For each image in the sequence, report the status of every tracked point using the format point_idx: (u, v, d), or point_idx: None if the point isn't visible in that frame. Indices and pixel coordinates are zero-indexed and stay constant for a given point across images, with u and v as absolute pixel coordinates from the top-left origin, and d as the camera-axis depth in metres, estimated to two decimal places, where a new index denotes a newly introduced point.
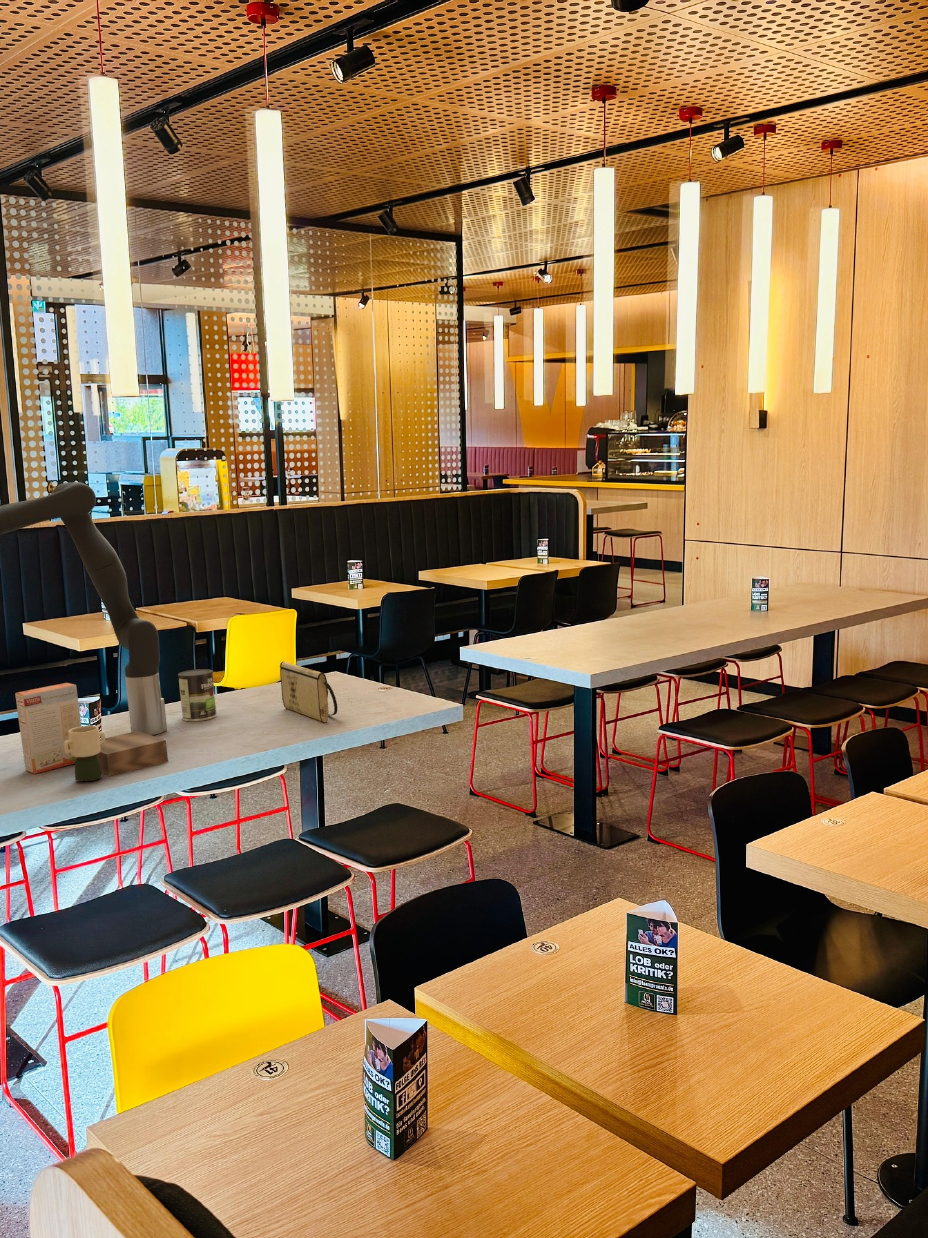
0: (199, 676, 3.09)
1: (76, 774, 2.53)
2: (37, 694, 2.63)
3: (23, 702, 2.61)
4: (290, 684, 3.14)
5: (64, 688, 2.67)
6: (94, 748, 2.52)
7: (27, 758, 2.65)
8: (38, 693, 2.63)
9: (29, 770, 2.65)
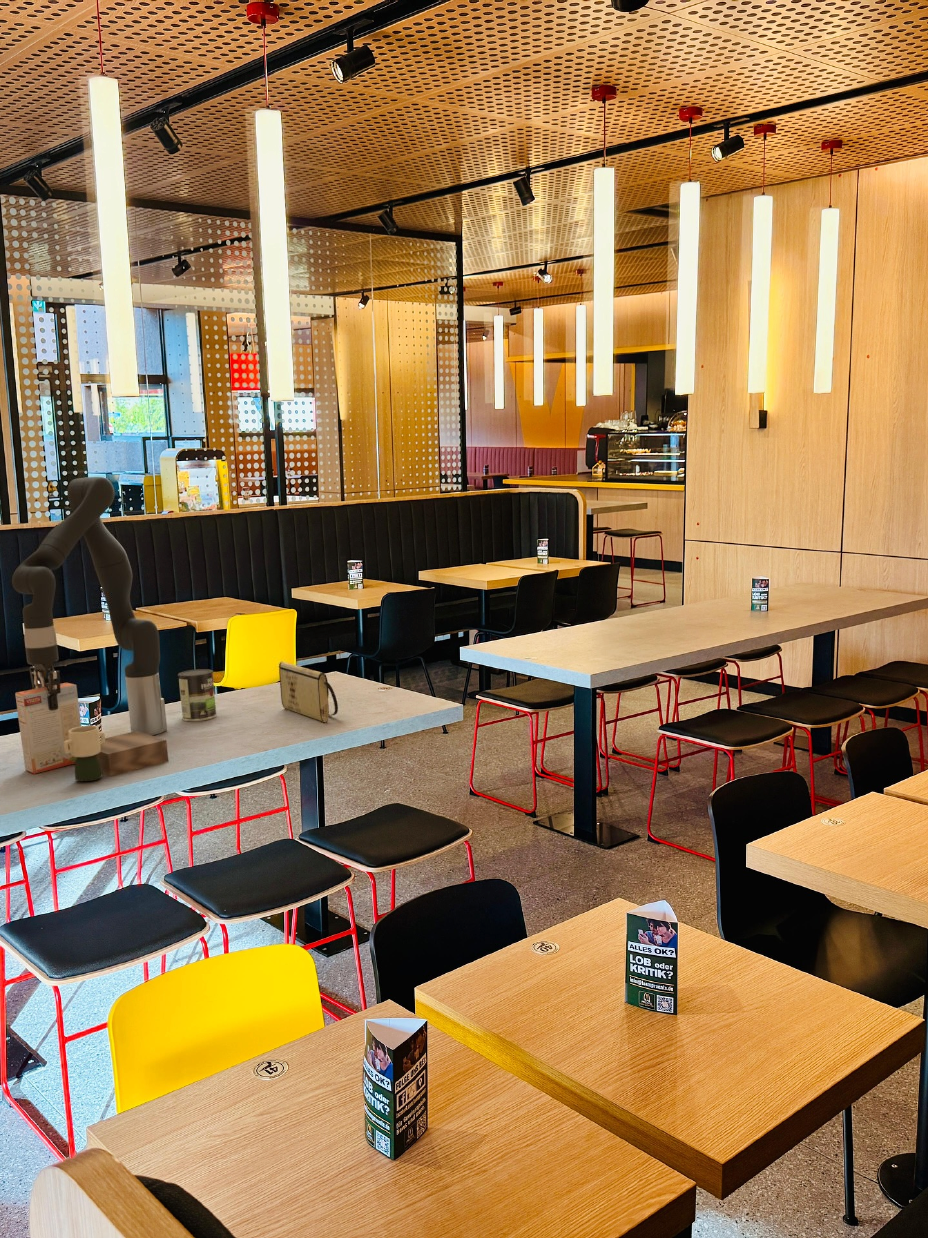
0: (199, 676, 3.09)
1: (76, 774, 2.53)
2: (37, 694, 2.63)
3: (23, 702, 2.61)
4: (290, 684, 3.14)
5: (64, 688, 2.67)
6: (94, 748, 2.52)
7: (26, 758, 2.65)
8: (38, 693, 2.63)
9: (29, 770, 2.65)
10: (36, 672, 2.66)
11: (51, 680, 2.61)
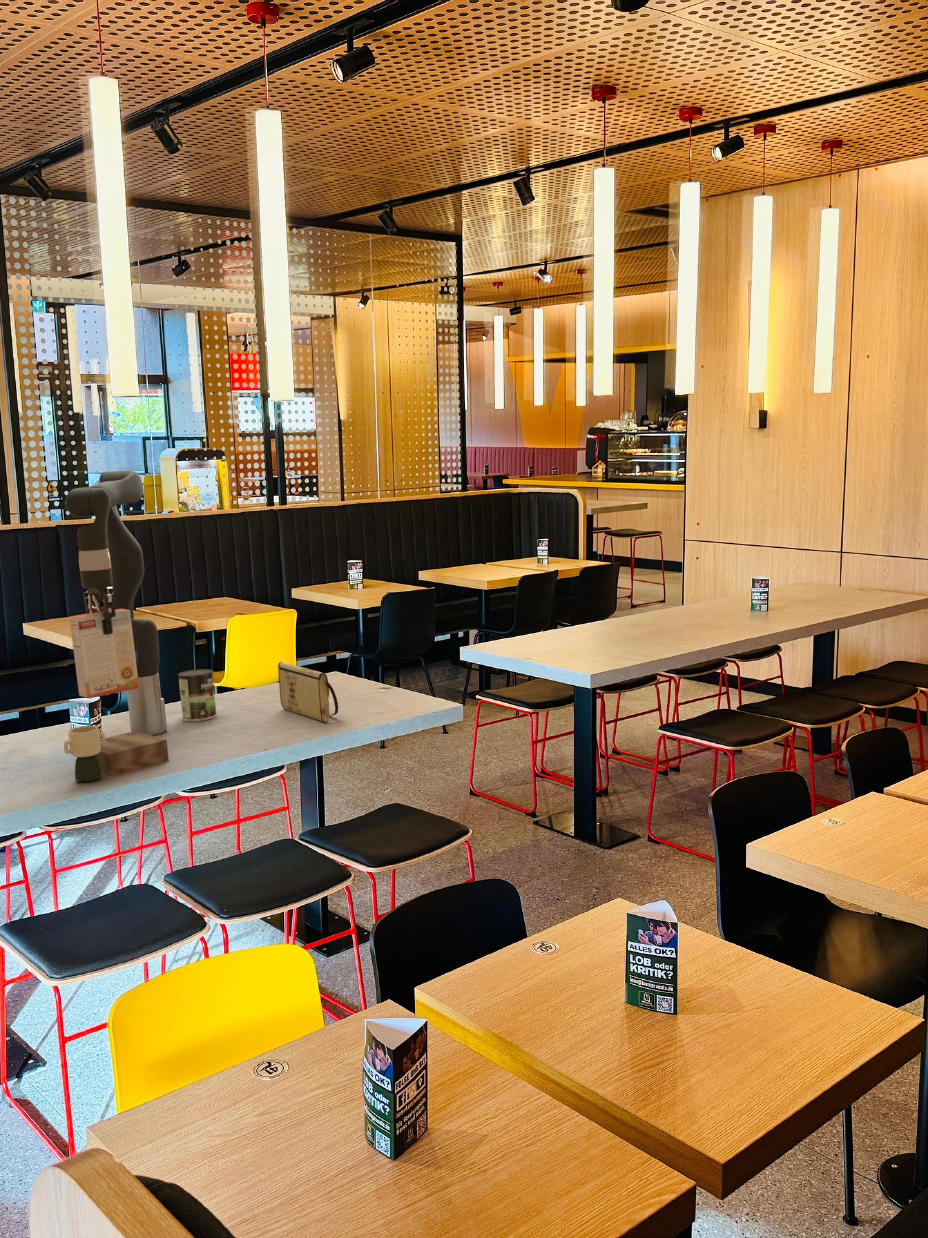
0: (199, 676, 3.09)
1: (76, 774, 2.53)
2: (91, 617, 2.59)
3: (77, 625, 2.58)
4: (289, 685, 3.14)
5: (118, 613, 2.64)
6: (94, 748, 2.52)
7: (81, 683, 2.61)
8: (92, 616, 2.59)
9: (83, 695, 2.62)
10: (90, 596, 2.62)
11: (106, 603, 2.58)
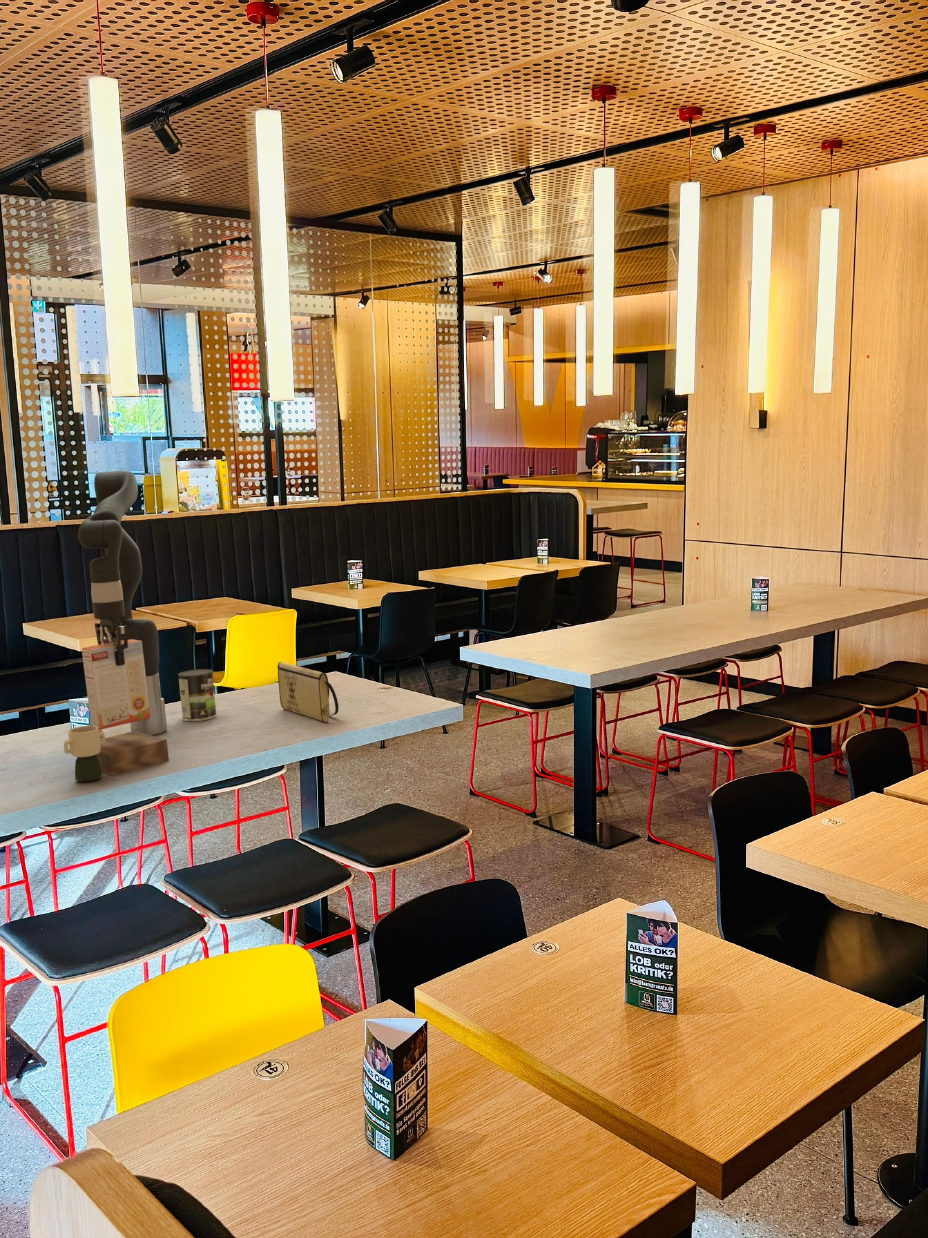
0: (199, 676, 3.09)
1: (76, 774, 2.53)
2: (104, 649, 2.60)
3: (90, 657, 2.59)
4: (289, 685, 3.14)
5: (130, 644, 2.65)
6: (94, 748, 2.52)
7: (93, 714, 2.63)
8: (105, 648, 2.61)
9: None
10: (102, 627, 2.63)
11: (119, 635, 2.59)
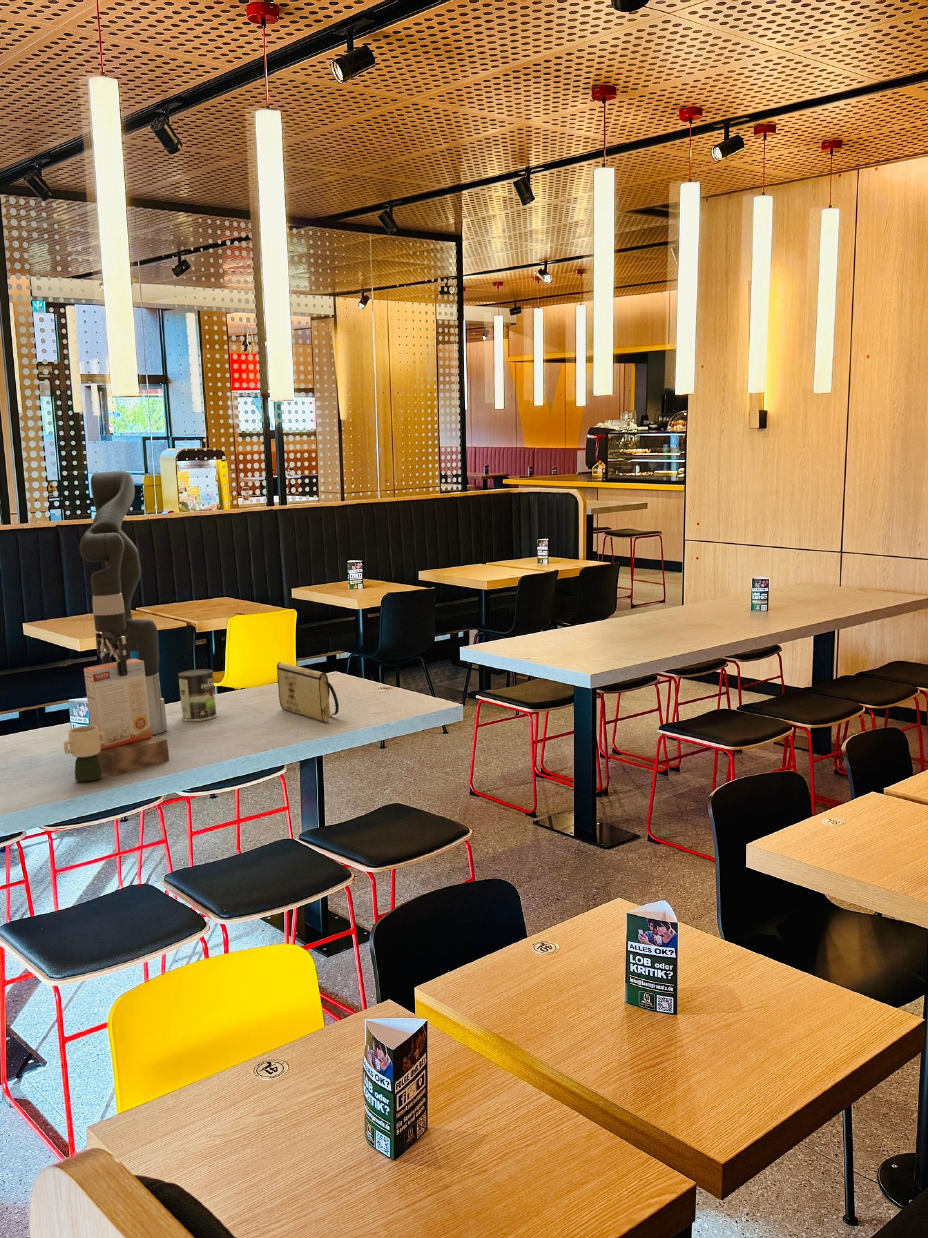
0: (199, 676, 3.09)
1: (76, 774, 2.53)
2: (106, 669, 2.61)
3: (92, 678, 2.59)
4: (288, 685, 3.14)
5: (132, 664, 2.66)
6: (94, 748, 2.52)
7: None
8: (107, 668, 2.61)
9: None
10: (104, 640, 2.64)
11: (120, 644, 2.59)
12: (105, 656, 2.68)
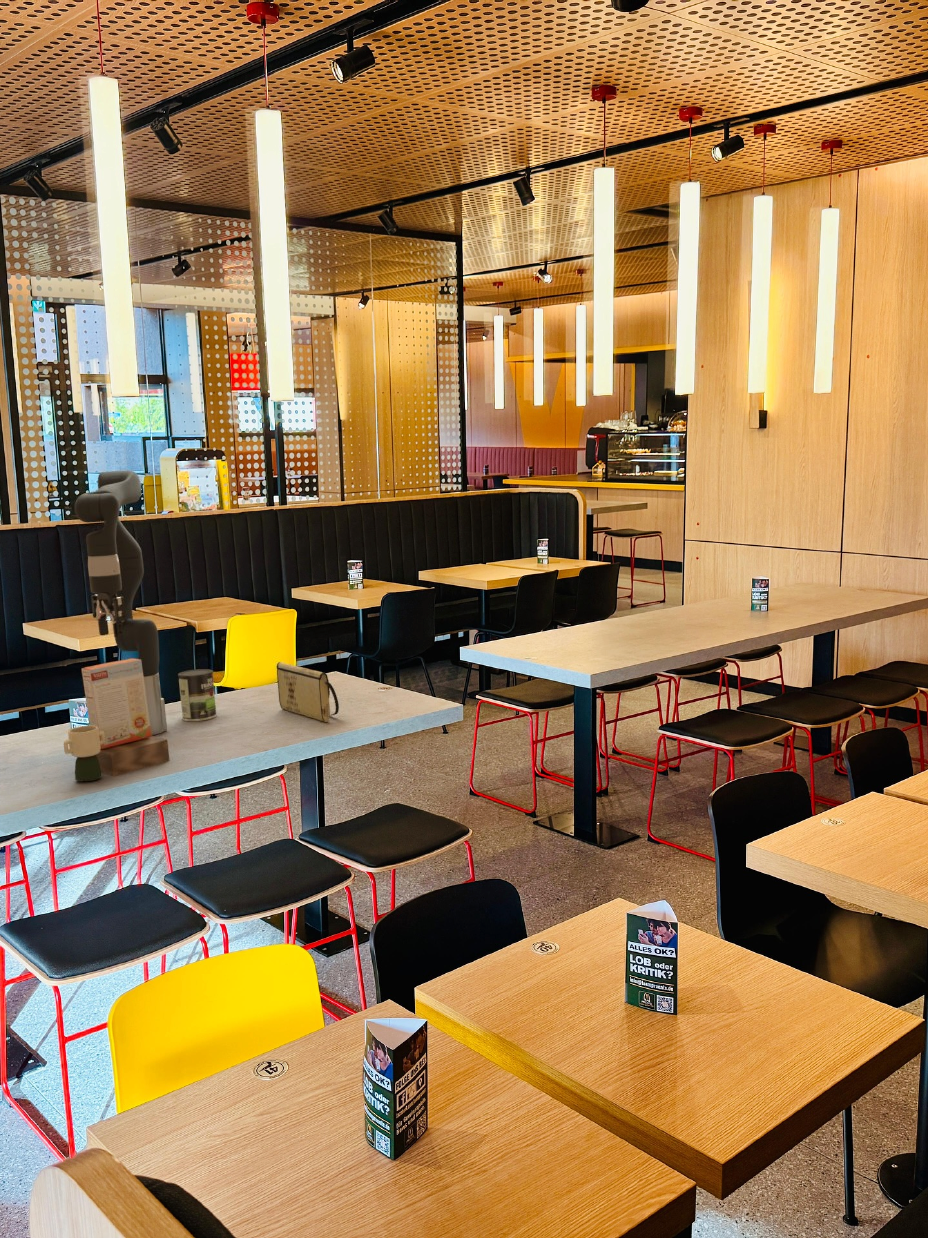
0: (199, 676, 3.09)
1: (76, 774, 2.53)
2: (103, 668, 2.61)
3: (90, 677, 2.60)
4: (288, 685, 3.14)
5: (129, 663, 2.66)
6: (94, 748, 2.52)
7: None
8: (104, 667, 2.62)
9: None
10: (100, 602, 2.62)
11: (116, 605, 2.57)
12: (101, 618, 2.66)
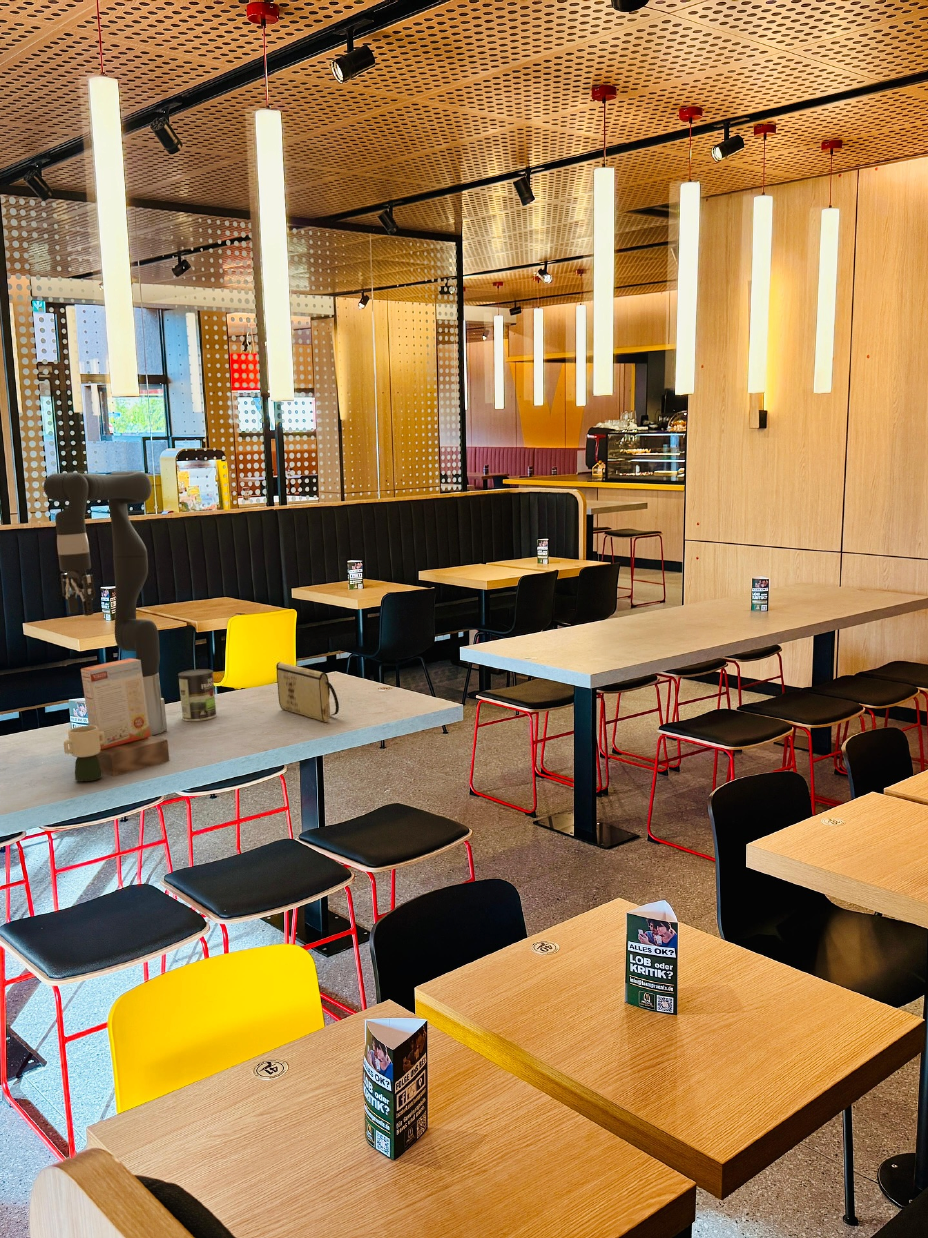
0: (199, 676, 3.09)
1: (76, 774, 2.53)
2: (103, 669, 2.61)
3: (89, 678, 2.59)
4: (288, 685, 3.13)
5: (129, 663, 2.66)
6: (94, 748, 2.52)
7: None
8: (104, 668, 2.61)
9: None
10: (69, 580, 2.65)
11: (85, 583, 2.60)
12: (70, 597, 2.69)
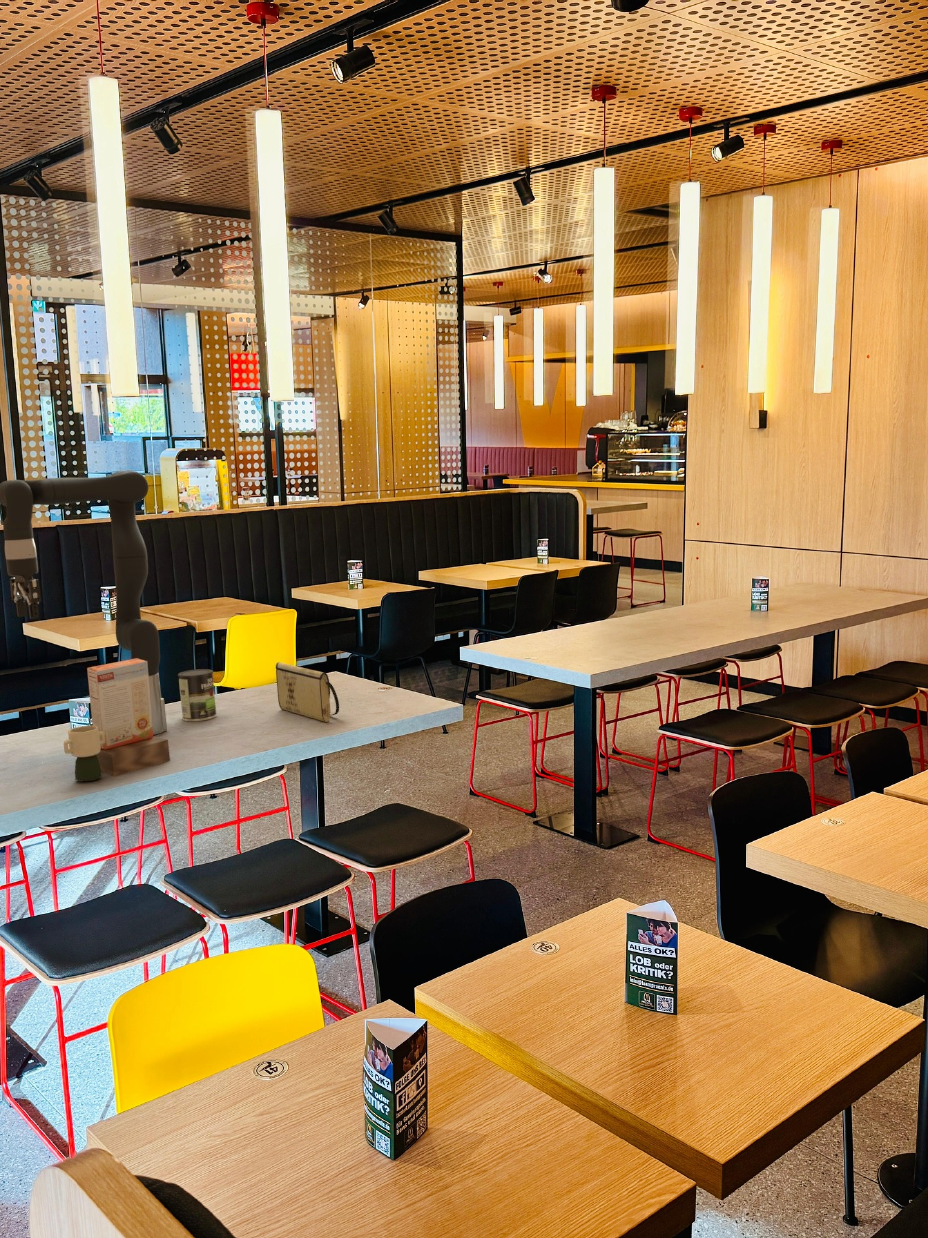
0: (199, 676, 3.09)
1: (76, 774, 2.53)
2: (110, 670, 2.60)
3: (96, 678, 2.58)
4: (288, 685, 3.13)
5: (136, 664, 2.65)
6: (94, 747, 2.52)
7: None
8: (111, 669, 2.60)
9: None
10: (16, 584, 2.72)
11: (31, 587, 2.67)
12: (19, 600, 2.76)
